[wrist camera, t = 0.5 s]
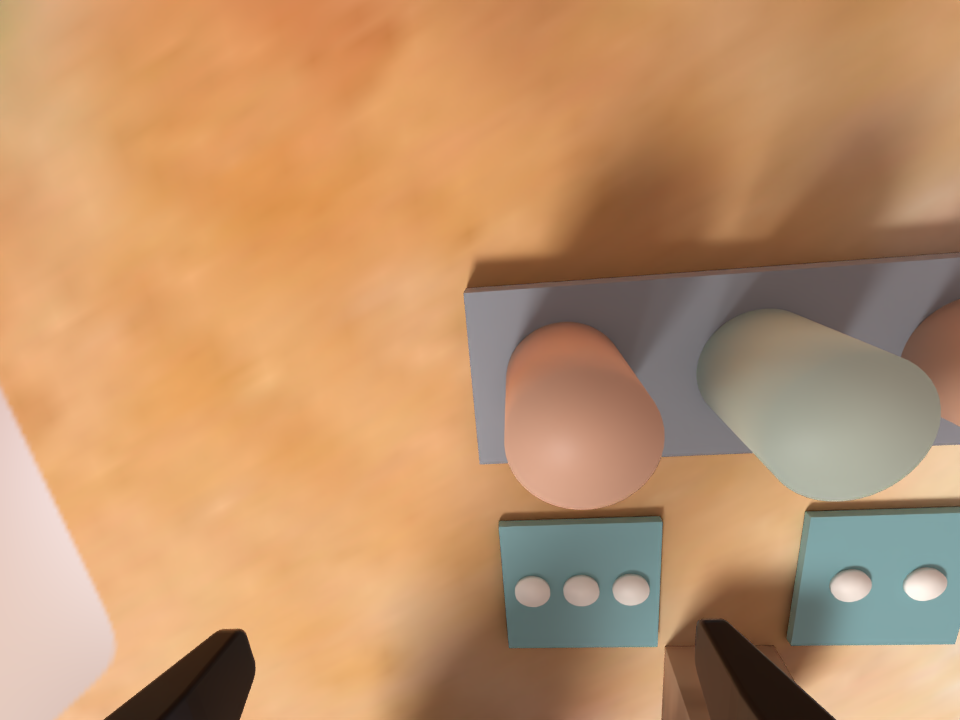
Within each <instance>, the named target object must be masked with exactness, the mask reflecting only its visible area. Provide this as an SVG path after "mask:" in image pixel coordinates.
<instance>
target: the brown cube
mask: <svg viewBox="0 0 960 720" xmlns="http://www.w3.org/2000/svg"><path fill="white" fill-rule="evenodd" d="M755 647H756V648H758V649H759V650H760V651H761V652H762V653H763V654H764V655H765V656H766V657H768V658H769V659H770V660H771V661H772V662H773V663H774V664H775V665H776V666H777V667H779V668H780V669H781V670H782V671H783V672H784V673H785V674H786V675H787V676H788V677H790V678H791V679H792V680H793V678H792V676H791V675H790V673H789V671H788V669H787V668H786V666H785V664H784V663H783V661H782V659H781V657H780V656H779V654H778V652H777V651H776V649H775V647H774V645H768V646H755ZM793 681H794V680H793ZM794 682H795V681H794ZM662 720H711V719H710V716H709V713H708V709H707V706H706V702H705V699H704V695H703V692H702V689H701V685H700V682H699V678H698V675H697V671H696V666H695V646H665V658H664V679H663V700H662Z"/></svg>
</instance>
